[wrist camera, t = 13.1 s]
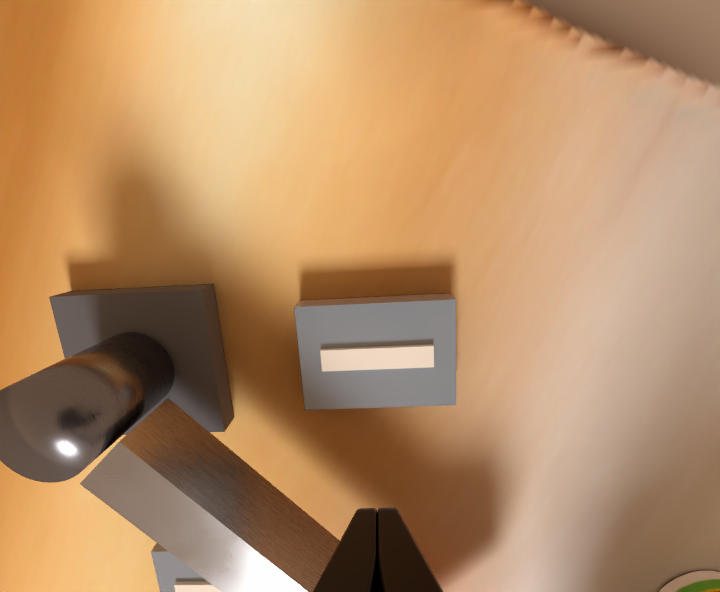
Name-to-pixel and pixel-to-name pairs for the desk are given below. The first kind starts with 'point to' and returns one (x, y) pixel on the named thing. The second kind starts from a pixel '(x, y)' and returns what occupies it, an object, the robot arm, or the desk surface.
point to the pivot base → (158, 339)
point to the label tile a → (177, 574)
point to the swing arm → (160, 467)
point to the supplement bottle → (695, 582)
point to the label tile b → (377, 351)
